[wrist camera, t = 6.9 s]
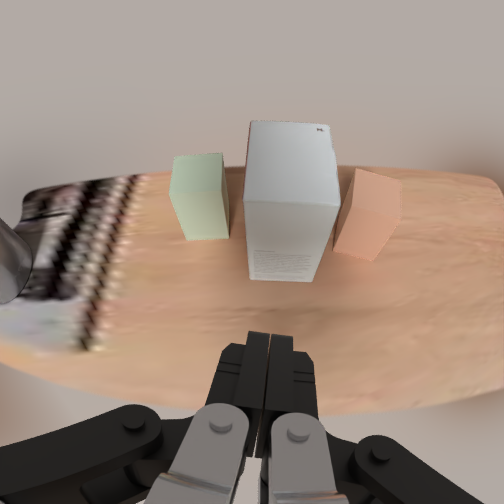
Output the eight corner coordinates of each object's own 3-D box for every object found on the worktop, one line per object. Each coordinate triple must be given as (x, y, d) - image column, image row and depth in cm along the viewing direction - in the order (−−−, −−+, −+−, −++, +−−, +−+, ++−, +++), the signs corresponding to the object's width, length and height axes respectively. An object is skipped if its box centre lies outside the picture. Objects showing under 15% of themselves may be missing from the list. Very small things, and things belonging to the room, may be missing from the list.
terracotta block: (332, 251, 32) (351, 205, 25) (338, 216, 34) (355, 168, 27) (373, 261, 31) (401, 219, 24) (376, 226, 33) (400, 180, 26)
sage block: (186, 240, 33) (168, 193, 26) (189, 206, 35) (174, 156, 28) (229, 238, 33) (221, 190, 26) (229, 203, 35) (222, 152, 28)
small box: (252, 212, 34) (249, 118, 23) (310, 215, 34) (331, 122, 22) (247, 281, 30) (240, 200, 19) (312, 284, 30) (344, 205, 18)
